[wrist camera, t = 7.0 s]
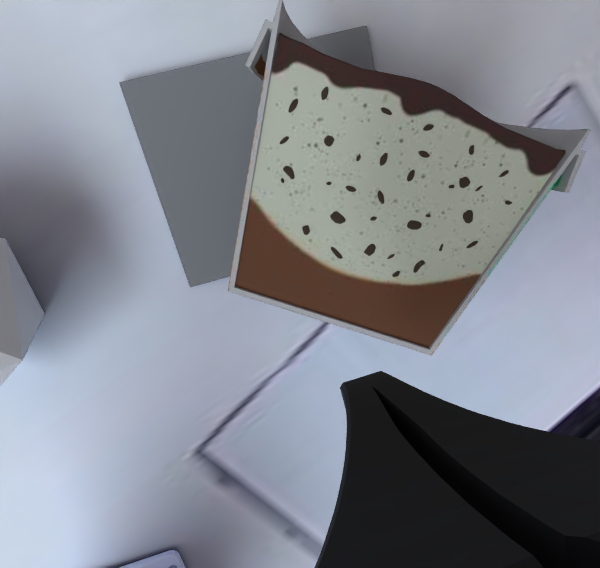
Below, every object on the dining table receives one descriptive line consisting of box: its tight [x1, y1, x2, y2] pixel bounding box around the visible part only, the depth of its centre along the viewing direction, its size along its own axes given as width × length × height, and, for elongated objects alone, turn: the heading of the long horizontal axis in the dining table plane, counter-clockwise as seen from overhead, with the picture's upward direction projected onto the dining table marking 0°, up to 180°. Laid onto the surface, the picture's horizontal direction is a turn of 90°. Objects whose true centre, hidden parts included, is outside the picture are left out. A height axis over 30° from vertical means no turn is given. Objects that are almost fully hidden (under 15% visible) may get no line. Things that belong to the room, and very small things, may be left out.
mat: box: [119, 26, 375, 287], centre depth 17 cm, size 10×12×1 cm
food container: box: [228, 0, 591, 355], centre depth 16 cm, size 12×6×10 cm
